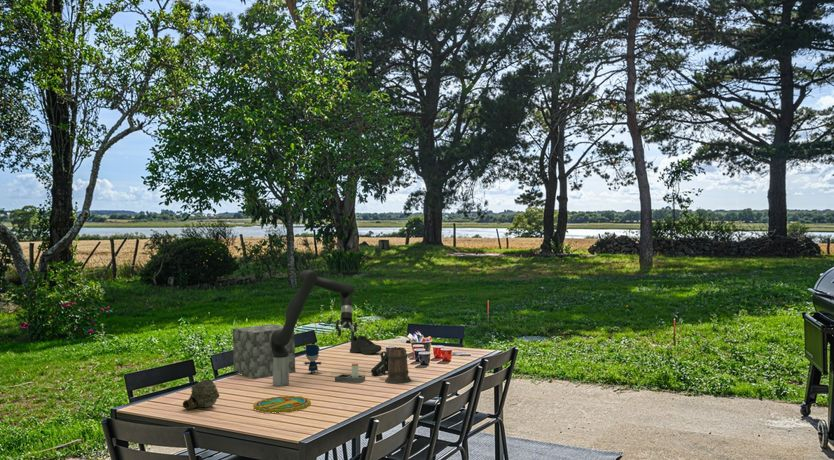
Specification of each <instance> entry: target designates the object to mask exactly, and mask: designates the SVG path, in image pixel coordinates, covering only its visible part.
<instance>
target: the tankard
mask: <svg viewBox="0 0 834 460" xmlns="http://www.w3.org/2000/svg"><path fill="white" fill-rule="evenodd" d="M388 352H389V354H388ZM384 355H385V359H387V358H388V371H386V361H385V359H384ZM380 359H382V361H383V365H384V369H383V373H382V374H381V372H382V369H381V368H380V369H378V370H377V373H378V375H377V376H379V377H380V376H384V375H385V374H386V372H387V377H386V379H385V380H384V383H385V384H391V385H402V384H404V385H405V384H408V383H412V380H413V379H412V378H411V377H410V376H409V368H408V367H409V365H408V354H407V350H406V348H405V347H403V346H402V347H390V348H389V350H388V351H386V350H385V351H384V350H383V351H380ZM380 371H381V372H380Z"/></svg>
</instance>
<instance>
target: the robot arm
mask: <svg viewBox="0 0 834 460" xmlns="http://www.w3.org/2000/svg"><path fill="white" fill-rule="evenodd" d="M298 279H299V280H298V281H299V282H300V283H301V286H300V288H299V289H298V291H297V292H296V293H295V294H294V295H293V296H292V297H291V299H290V301H289V303H288V305H287V307H286V310H285V323H284V325H283V326H284V327H283V329H282V330H276V331H274V332H273V333H272V336H271V348H272V353H273V376H272V386H276V387H284V386H288V385H289V384H290V373H289V360H288V351H287V350H286V349H285V346H286V345H287V344H288V343H289V342H290V339H291V336H292V333H293V330H294V331H295V328H296V327H295V326H296V325H297V322H298V320H299V318H300V316H301V314H302V312H303V309H304V308H305V305H306V302H307V300H308V298H309V296H310V294H311V291H312V289H313V288H314V287H319V288H322V289H326V290H327V291H331V292H334V293H339V296H340V300H341V309H340V319H337V320H335V330H337V335H338V336H339V337H341V336H342V329H348V330H349V331H350V338H351V339H352V338H353V337H355V333H357V332H358V324H357V322H353V299H352V298H351V297H350V296H351V295H353V294H354V293H355V291H356V289H355V287H354V285H353V284H351V283H348V282H339V281H336V280H334V279H330V278H324V277H320V276H318V273H317V272H316V271H315V270H313V269H305V270H302V271H301V272H300V273H299V276H298ZM339 324H340V326H339Z"/></svg>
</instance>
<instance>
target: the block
mask: <svg viewBox="0 0 834 460" xmlns="http://www.w3.org/2000/svg"><path fill="white" fill-rule="evenodd" d="M283 327H284V325H280V324H276V323H275V324H273V323H270V324H262V325H253V326H245V327H237V328H232V355H233V357H232V358H233V360H232V361H233V362H232V363H233V373H234V372H236V371H238V372H237V373H240V374H242V375H244V376H243V377H246V378H249V379H252V380H258V379H263V378H269V377H273V353H272V348H271V336H272V333H273V332H274V331H276V330H282V329H283ZM295 342H296V341H295V329H294V330H293V333H292V336H291V339H290V342H289V343H288V344H287V345H286V346H285V349H286V350H287V351H288V360H289V374H292V373H296V351H295V350H296V349H295V347H296V345H295ZM242 375H241V376H242Z"/></svg>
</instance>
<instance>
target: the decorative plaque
mask: <svg viewBox="0 0 834 460" xmlns="http://www.w3.org/2000/svg"><path fill="white" fill-rule="evenodd" d="M310 406H311V399H310V398H308V397H305V396H301V395H300V396H299V395H298V396H295V395H285V396H284V395H283V396H282V395H279V396H273V397H268V398H267V397H266V398H263V399H261V400H257V402H254V404H253V406H252V407H254V408H253V410H254V409H256V410H259V411H263V412H270V413H272V412H276V413H275V414H277V413H278V414H280V413H279V412H287V413H293V412H297V411H296V410H299V409H303V410H305V409H307V407H310ZM256 410H255V411H256ZM259 411H258V412H259ZM292 411H293V412H292ZM299 411H300V410H299ZM263 412H262V413H263ZM270 413H269V414H270ZM272 414H273V413H272Z"/></svg>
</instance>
